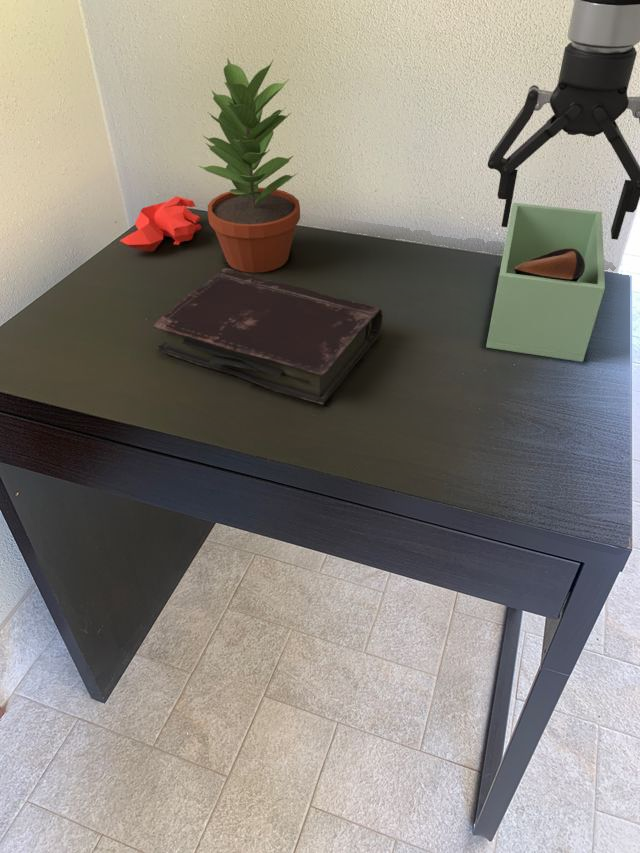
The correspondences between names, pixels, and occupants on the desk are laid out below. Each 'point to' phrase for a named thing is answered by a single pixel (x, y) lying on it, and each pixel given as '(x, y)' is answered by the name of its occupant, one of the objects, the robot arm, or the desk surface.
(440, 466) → the desk surface
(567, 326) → the green open box
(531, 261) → the sunglasses case
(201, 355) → the diary
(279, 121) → the potted plant
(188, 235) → the animal figurine
